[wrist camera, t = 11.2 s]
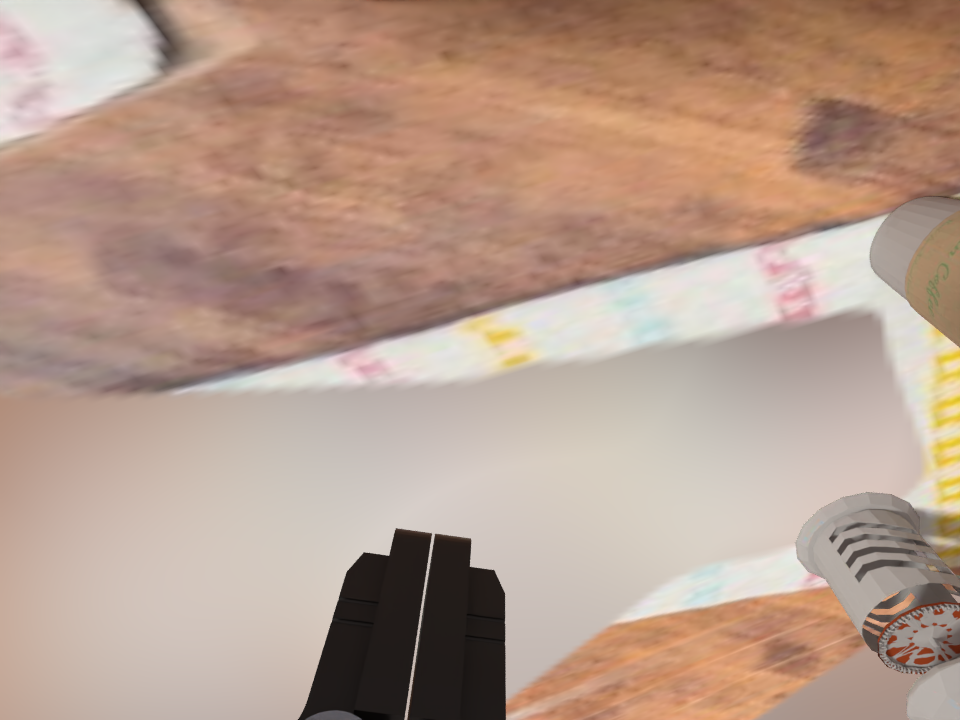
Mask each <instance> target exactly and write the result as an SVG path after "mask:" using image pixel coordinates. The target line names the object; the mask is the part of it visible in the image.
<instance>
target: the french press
mask: <svg viewBox="0 0 960 720" xmlns="http://www.w3.org/2000/svg"><path fill="white" fill-rule="evenodd" d="M915 544H916V545H915ZM796 551H797V559H798V560H799V561H800V562H801V564H802V565H803V566H804V567H805V568H806V570H807V571H808V572H811V573H813V574H815V575H817V576H820V577H822V578H824V579H826V581H827V582H828V584H829V586H830V587H831V589H832V590H833V592H834V594H835V595H836V597H837V598H838V600H839V602H840V603H841V605H842V606H843V608H844V609H845V611H846V613H847V614H848V616H849V617H850V619H851V621H852V622H853V624H854V625H855V627H856V628H857V630H858V631H859V633H860V634H861V636H862V638H863V639H864V641H865V642H866V643H867V645H868V646H869V647H870V649H871V650H872V651H875V652H877V653H878V656H879V658H880V659H881V660H882V661H883V662H884V663H885V665H886V666H887V667H889V668H892V669H894V670H897V671H899V672H902V673H909V674H910V673H911V674H923V675H922V676H921V677H919V678H918V679H917V680H916V681H915V683H914V684H913V686H912V687H911V689H910V690H909V692H908V693H907V701H906V712H907V717H908V718H909V719H910V720H960V603H957V601H956V600H955V599H954V598H953V597H952V595H951V594H954V595H957V596H960V580H959V579H960V575H956V574H954V573H953V572H952V571H951V570H950V568H949V567H948V566H947V565H946V564H945V563H944V562H943V561H942V560H941V558H940V557H939V556H938V555H937V554H936V553H935V552H934V550H933V549H932V548H931V547H930V546H929V545H928V544H927V543H926V541H925V540H924V539H923V538H922V537H921V536H920V535H919V516H918V515H917V513H916V512H915V510H914V509H913V508H912V506H911V505H910V503H908V502H906V501H904V500H902V499H900V498H898V497H896V496H894V495H892V494H883V493H870V492H866V493H861V494H857V495H852V496H847V497H842V498H840V499H838V500H836V501H835V502H832V503H830V504H828V505H827V506H825V507H823V508H821V509H819V510H818V511H817V512H816V513H815V514H814V515H813V516H812V517H811V518H810V519H809V520H808V521H807V522H806V523H805V524H804V525H803V526H802V529H801V531H800V533H799V536H798V538H797V540H796ZM914 551H920V552H923V553H924V554H925V555H926V556H927V557H928V558H925V557H920V556H918V555H917V554H916V553H915V552H914ZM925 564H929V565H934V566H935V567H936V568H937V569H938V570H939V571H940V572H941V573H940V572H935V571H930V569H929V568H928V567H927V566H926V565H925ZM941 583H942V584H950V585H952V586H953V588H954V589H955V590H956V591H957V592H955V591H951V590H947V589H946V588H945V587H944V586H943V585H942V584H941ZM899 591H900V592H899ZM897 592H899V593H898V594H897V595H895V596H893V597H892V598H890V599H888V600H886V601H884V602H881V601H882V600H884V599H885V598H886V597H888V596H890V595H892V594H894V593H897ZM910 593H912V594H913V595H914V596H915V599H914V600H913V601H912V602H911V604H910V605H909V606H908V607H907V608H905V609H903V610H902V611H900V612H898V613H896V614H894V615H875V614H873V613H870V612H871V611H872V610H873V609H890V608H892V607H893V606H895V605H897V604H899V603H900V602H902V601H904V600H905V598H906V597H907V596H908V595H909V594H910ZM950 593H951V594H950ZM866 617H870V618H872V619H874V620H877V621H879V622H890V623H889V624H887V625H886V626H885V628H883V627H880V626H878V625H875V624H872V623H870V622H868V621H866V620H865V619H866ZM863 624H864V625H865V626H867V627H869V628H872V629H874V630H876V631H879V632H881V634H880V636H877V635H874V634H872V633H870V632H869V631H867V630H865V629H864V628H862V625H863Z"/></svg>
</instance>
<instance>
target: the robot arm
mask: <svg viewBox="0 0 960 720" xmlns="http://www.w3.org/2000/svg"><path fill="white" fill-rule="evenodd" d="M431 536H432V534H431V533H425V532H418V531H411V530H404V529H397V528H396V530H395V533H394V538H393V542H392V546H391V551H390V555H389V556H386V555H379V554H372V553H363V554H362V555H361V556H360V558H359V559H358V560H357V561H356V562H355V563H354V564H353V566H352V567H351V568H350V569H349V570H348V571H347V573H346V576H345V579H344V583H343V586H342V589H341V592H340V596H339V600H338V602H337V606H336V609H335V612H334V615H333V620H332V623H331V625H330V628H329V632H328V635H327V638H326V641H325V645H324V648H323V651H322V655H321V658H320V661H319V665H318V668H317V671H316V674H315V678H314V681H313V684H312V687H311V691H310V694H309V697H308V700H307V704H306V706H305V708H304V710H303V712H302V714H301V716H300V718H299V719H298V720H404V718H405V711H406V704H407V697H408V691H409V684H410V677H411V670H412V664H413V657H414V650H415V644H416V636H417V630H418V624H419V617H420V610H421V603H422V596H423V590H424V583H425V577H426V570H427V563H428V557H429V550H430V543H431ZM470 554H471V539H469V538H462V537H455V536H448V535H441V534H435V538H434V545H433V550H432V557H431V563H430V569H429V576H428V582H427V588H426V595H425V601H424V608H423V615H422V621H421V628H420V635H419V642H418V649H417V656H416V663H415V670H414V677H413V684H412V691H411V698H410V705H409V712H408V719H407V720H506V695H505V694H506V693H505V692H506V691H505V593H504V590H503V589H502V586H501V584H500V582H499V580H498V578H497V575H496V573H495V571H494V570H488V569H481V568H474V567H470Z"/></svg>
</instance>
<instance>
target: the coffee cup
mask: <svg viewBox="0 0 960 720" xmlns="http://www.w3.org/2000/svg"><path fill="white" fill-rule="evenodd" d="M870 263H871V267H872V269H873V270H874V272H875V273H876V274H877V275H878V276H879V277H880V278H881V279H882V280H883V281H884V282H885V283H887V284H888V285H889V286H890V287H891V288H893V289H894V290H895V291H896V292H898V293H899V294H900V295H901V296H902V297H904V298H905V299H906V300H907V301H908V302H909V304H910V305H911V307H912V308H913V309H914V310H915V311H916V312H917V313H919V314H920V315H921V316H922V317H923V318H925V319H926V320H927V321H928V322H929V323H931V324H932V325H933V326H934V327H936V328H937V329H938V330H939V331H940V332H942V333H943V334H944V335H945V336H946V337H948V338H949V339H950V340H951V341H953V342H954V343H955V344H956V345H957V346H959V347H960V200H958V199H951V198H944V197H937V196H934V197H922V198H918V199H914V200H912V201H909V202H907V203H905V204H903V205H902V206H900V207H899V208H897V209H896V210H895V211H894V212H892V213H891V214H890V215H889V216H888V217H887V219H886V220H885V221H884V222H883V223H882V225H881V226H880V228H879V229H878V231H877V233H876V235H875V237H874V239H873V242H872V245H871V249H870Z"/></svg>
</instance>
